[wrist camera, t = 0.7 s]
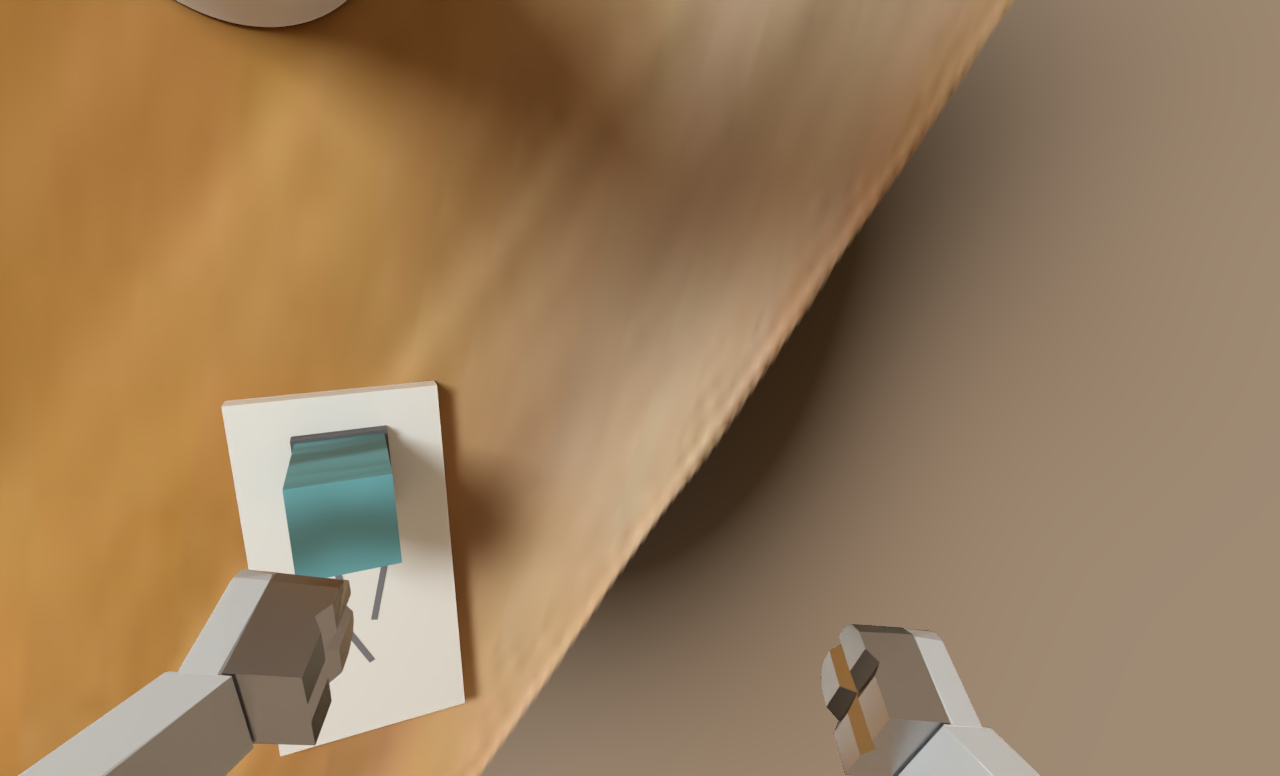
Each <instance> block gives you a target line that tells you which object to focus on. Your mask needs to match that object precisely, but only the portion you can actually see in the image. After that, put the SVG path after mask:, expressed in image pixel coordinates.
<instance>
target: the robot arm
mask: <svg viewBox="0 0 1280 776" xmlns="http://www.w3.org/2000/svg"><path fill="white" fill-rule="evenodd" d="M176 1H178V2H180V3H182V4H184V5H186V6H188V7H190V8H192V9H194V10H196V11H199V12H201V13H203V14H206V15H208V16H211V17H214V18H217V19H220V20H224V21H227V22H231V23H236V24H241V25H247V26H256V27H283V26H291V25H297V24H301V23H305V22H308V21H312V20H314V19H317V18H319V17H322V16H324V15H326V14H328V13H330V12H331V11H333V10H335V9H336V8H338V7H339V6H340V5H342V4H343V3H344V2H346V1H347V0H176ZM350 595H351V590H350V584H349V580H343V579H333V578H324V577H314V576H304V575H295V574H285V573H279V572H268V571H256V570H245V569H242V570H241V571H240V572H239V573H238V574H237V575H236V576H235V577H234V578H233V579H232V580H231V581H230V583H229V585H228V587H227V588H226V590H225V592H224V593H223V595H222V597H221V599H220V600H219V602H218V604H217V605H216V607H215V609H214V610H213V612H212V614H211V616H210V617H209V619H208V621H207V622H206V624H205V626H204V628H203V629H202V631H201V633H200V634H199V636H198V638H197V640H196V641H195V643H194V645H193V646H192V648H191V650H190V652H189V653H188V655H187V657H186V658H185V660H184V662H183V664H182V665H181V667H180V669H179V670H178V672H177V671H166V672H165V673H163V674H162V675H160V676H159V677H157V678H156V679H155V680H153V681H152V682H150V683H149V684H147V685H146V686H145V687H143V688H142V689H140V690H139V691H138V692H136V693H135V694H133V695H132V696H130V697H129V698H128V699H126V700H125V701H123V702H122V703H120V704H119V705H118V706H116V707H115V708H113V709H112V710H111V711H109V712H108V713H106V714H105V715H103V716H102V717H101V718H99V719H98V720H96V721H95V722H93V723H92V724H91V725H89V726H88V727H86V728H85V729H84V730H82V731H81V732H79V733H78V734H76V735H75V736H74V737H72V738H71V739H69V740H68V741H66V742H65V743H64V744H62V745H61V746H59V747H58V748H57V749H55V750H54V751H52V752H51V753H49V754H48V755H47V756H45V757H44V758H42V759H41V760H39V761H38V762H37V763H35V764H34V765H32V766H31V767H30V768H28V769H27V770H25V771H24V772H22V773H21V774H20V775H18V776H225V775H226V774H227V773H228V772H229V771H230V770H231V769H232V768H233V767H234V766H235V765H236V764H237V763H238V762H239V761H240V760H242V759H243V758H244V757H245V756H246V755H247V754H248V753H249V752H250V751H251V750H252V749H253V744H285V745H316V742H317V740H318V737H319V734H320V731H321V729H322V726H323V723H324V721H325V718H326V715H327V712H328V710H329V707H330V704H331V702H332V699H331V692H330V685H329V683H330V682H331V681H332V680H334V679H335V678H336V677H337V676H338V675H340V674H341V673H342V671H343V668H344V665H345V662H346V659H347V657H348V653H349V649H350V645H351V640H352V636H353V626H354V617H353V611H352V610H351V609H350V608H349V607H348V606H346V605H347V603H348V600H349V598H350ZM839 638H840V641H841V645H839V646H837V647H836V648H834V649H832V650H830V651H829V653H828V655H827V656H826V658H825V660H824V662H823V667H822V676H821V681H822V692H823V696H824V700H825V704H826V706H827V708H828V709H829V710H830V711H831V712H832V714H833V715H834V716H835V717H836V718H837V719H838V720H839V721H838V723H837V726H836V728H835V731H834V737H835V740H836V744H837V747H838V751H839V755H840V758H841V762H842V766H843V769H844V773H845V775H854V776H1040V775H1039V774H1038V773H1037V772H1036V771H1035V770H1034V769H1033V768H1032V767H1031V766H1030V765H1029V764H1028V763H1027V762H1026V761H1024V759H1023V758H1021V756H1020V755H1018V754H1017V753H1016V752H1015V751H1014V750H1013V749H1012V748H1011V747H1010V746H1009V745H1008V744H1007V743H1006V742H1005V741H1004V740H1003V739H1002V738H1001V737H1000V736H999V735H998V734H997V733H996V732H995V731H994V730H992V729H991V728H990V727H982V725H981V723H980V721H979V719H978V717H977V715H976V712H975V710H974V708H973V706H972V704H971V701H970V699H969V697H968V695H967V693H966V691H965V689H964V687H963V684H962V682H961V680H960V678H959V676H958V673H957V671H956V669H955V667H954V665H953V663H952V661H951V658H950V656H949V654H948V652H947V650H946V648H945V645H944V643H943V641H942V639H941V638H940V637H939V636H938V635H937V634H936V633H935V632H933V631H928V630H912V629H904V628H900V627H886V626H872V625H858V624H857V625H856V624H850V625H848V626H846V627H844V629H843V630H842V632H841V634H840V635H839Z"/></svg>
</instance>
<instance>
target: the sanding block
mask: <svg viewBox="0 0 1280 776" xmlns="http://www.w3.org/2000/svg"><path fill="white" fill-rule="evenodd" d="M290 446H291V453H292V454H291V458H290V462H289V466H288V470H287V474H286V478H285V482H284V486H283V489H282V491H283V498H284V504H285V511H286V518H287V524H288V531H289V538H290V544H291V551H292V558H293V564H294V571H295V575H304V576H314V577H324V578H328V577H333V576H338V575H343V574H348V573H353V572H358V571H363V570H368V569H373V568H378V567H383V566H388V565H393V564H398V563H402V557H401V548H400V539H399V530H398V520H397V511H396V502H395V493H394V483H393V474H392V468H391V459H390V450H389V441H388V432H387V426H386V425H384V426H376V427H368V428H359V429H351V430H343V431H334V432H326V433H318V434H309V435H301V436H293V437H291V439H290Z"/></svg>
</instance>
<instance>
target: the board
mask: <svg viewBox="0 0 1280 776" xmlns="http://www.w3.org/2000/svg"><path fill="white" fill-rule="evenodd" d="M221 407H222V413H223V419H224V425H225V431H226V437H227V443H228V449H229V455H230V461H231V467H232V473H233V479H234V484H235V490H236V496H237V502H238V508H239V514H240V520H241V526H242V532H243V538H244V544H245V550H246V556H247V562H248V567H249V570H256V571H268V572H279V573H285V574H295V571H294V564H293V558H292V551H291V544H290V538H289V531H288V524H287V518H286V511H285V504H284V498H283V491H282V489H283V486H284V482H285V478H286V474H287V470H288V466H289V462H290V458H291V454H292V453H291V446H290V439H291V437H293V436H301V435H309V434H318V433H326V432H334V431H343V430H351V429H359V428H368V427H376V426H384V425H386V426H387V432H388V441H389V450H390V459H391V468H392V474H393V483H394V493H395V502H396V511H397V520H398V530H399V539H400V548H401V557H402V563H398V564H393V565H388V566H383V567H378V568H373V569H368V570H363V571H358V572H353V573H348V574H343V575H338V576H333V577H328V578H333V579H343V580H349V584H350V590H351V595H350V598H349V600H348V603H347V605H346V606H348V607H349V608H350V609H351V610H352V611H353V617H354V626H353V636H352V640H351V645H350V649H349V653H348V657H347V659H346V662H345V665H344V668H343V671H342V673H341V674H340V675H338V676H337V677H336V678H335V679H334V680H332V681H331V682H330V683H329V685H330V692H331V699H332V702H331V704H330V707H329V710H328V712H327V715H326V718H325V721H324V723H323V726H322V729H321V731H320V734H319V737H318V740H317V742H316V745H285V744H278V745H279V751H280V756H283V755H287V754H290V753H294V752H297V751H301V750H304V749H308V748H311V747H314V746H318V745H321V744H325V743H328V742H332V741H335V740H339V739H342V738H345V737H349V736H352V735H356V734H359V733H363V732H366V731H370V730H373V729H376V728H380V727H383V726H387V725H390V724H394V723H397V722H401V721H404V720H407V719H411V718H414V717H418V716H421V715H425V714H428V713H432V712H435V711H438V710H442V709H445V708H449V707H452V706H456V705H459V704H463V703H465V697H464V686H463V675H462V663H461V652H460V641H459V629H458V618H457V606H456V595H455V584H454V572H453V561H452V550H451V538H450V527H449V516H448V504H447V493H446V481H445V470H444V459H443V447H442V436H441V425H440V413H439V402H438V391H437V384H436V383H435V381H424V382H414V383H404V384H393V385H383V386H373V387H363V388H352V389H342V390H332V391H321V392H311V393H301V394H291V395H280V396H270V397H260V398H250V399H239V400H229V401H225V402H224V404H223V405H222V406H221Z"/></svg>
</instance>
